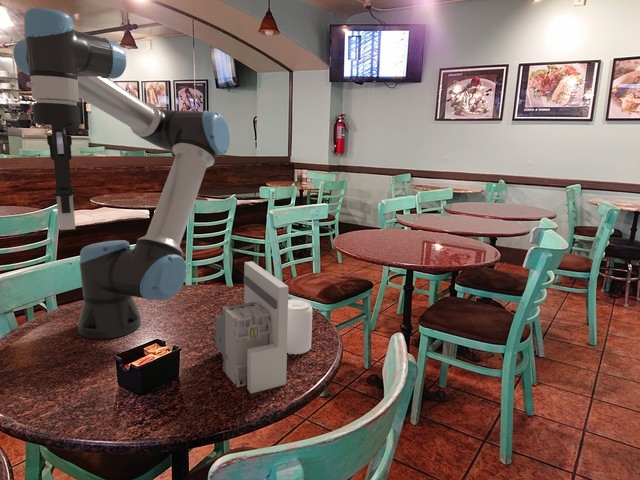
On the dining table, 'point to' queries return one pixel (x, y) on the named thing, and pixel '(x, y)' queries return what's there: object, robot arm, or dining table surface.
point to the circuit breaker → (240, 337)
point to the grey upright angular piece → (273, 297)
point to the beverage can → (299, 326)
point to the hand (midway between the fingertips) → (67, 228)
